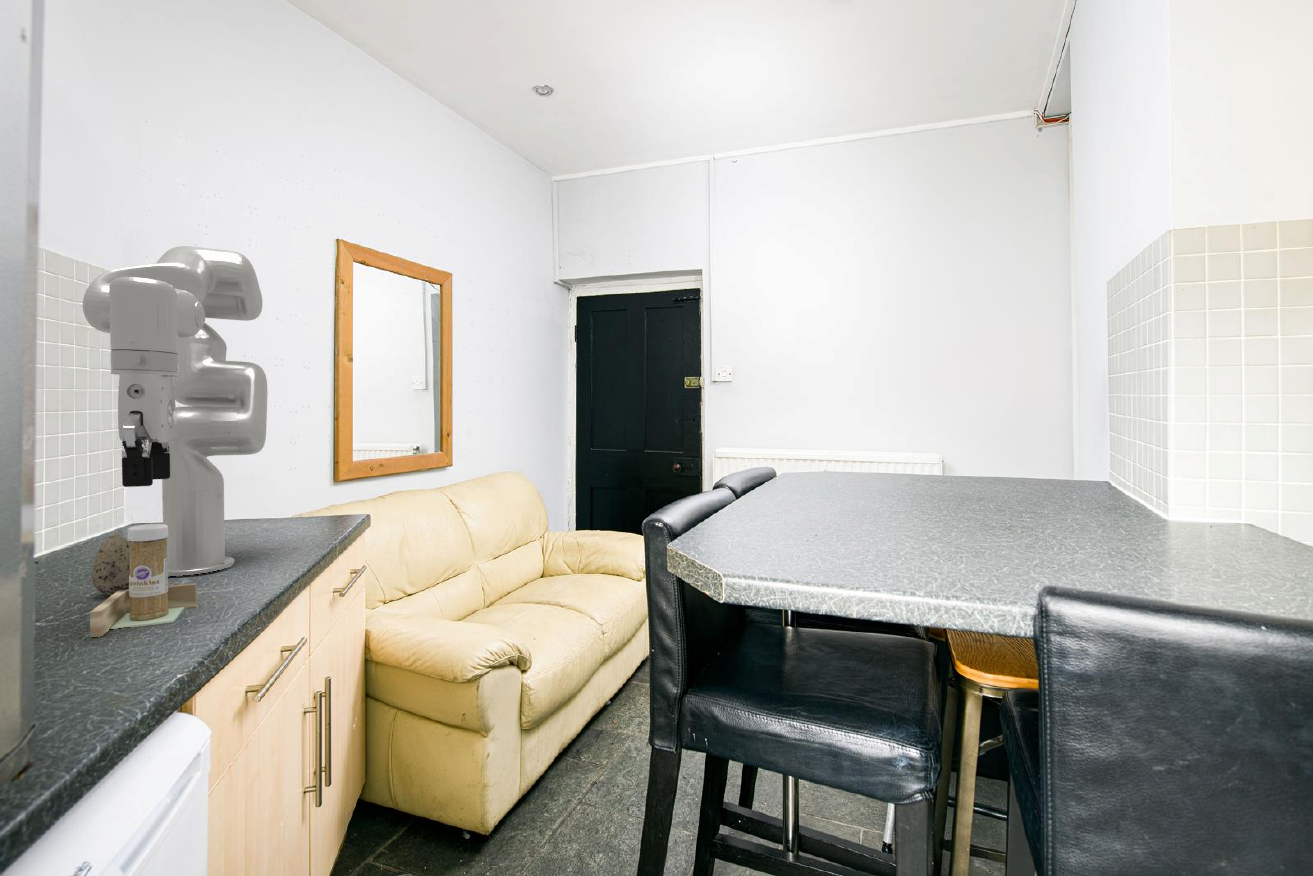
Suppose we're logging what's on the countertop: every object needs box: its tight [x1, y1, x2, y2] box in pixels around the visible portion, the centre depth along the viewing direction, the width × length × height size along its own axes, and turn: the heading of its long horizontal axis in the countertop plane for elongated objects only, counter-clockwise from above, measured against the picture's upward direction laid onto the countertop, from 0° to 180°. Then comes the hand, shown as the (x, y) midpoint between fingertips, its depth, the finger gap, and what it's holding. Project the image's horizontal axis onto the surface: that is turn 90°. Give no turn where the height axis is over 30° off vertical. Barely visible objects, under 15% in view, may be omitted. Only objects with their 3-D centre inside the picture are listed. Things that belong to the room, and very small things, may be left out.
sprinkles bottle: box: [127, 523, 169, 620], centre depth 89 cm, size 5×5×13 cm
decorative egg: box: [91, 534, 130, 596], centre depth 101 cm, size 6×6×10 cm
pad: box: [110, 607, 186, 630], centre depth 89 cm, size 7×7×1 cm
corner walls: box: [89, 582, 198, 638], centre depth 89 cm, size 12×10×4 cm
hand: (147, 482), depth 89 cm, fingers open, 9 cm apart
